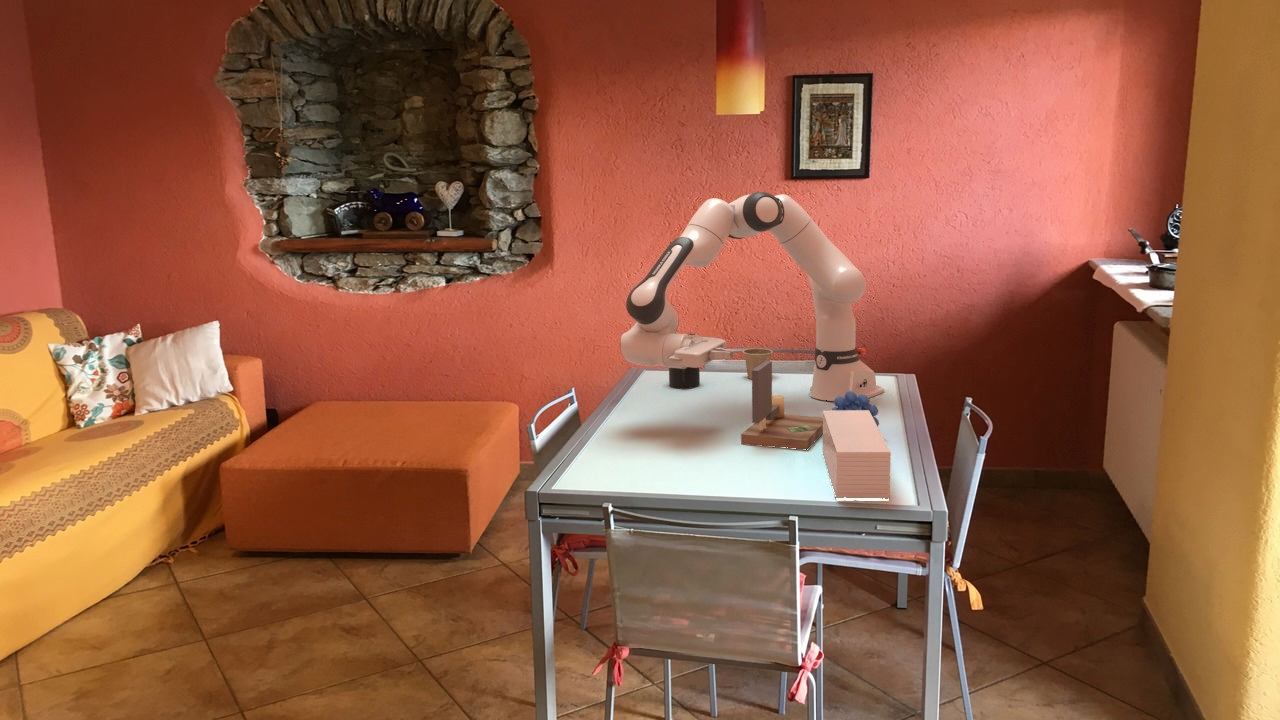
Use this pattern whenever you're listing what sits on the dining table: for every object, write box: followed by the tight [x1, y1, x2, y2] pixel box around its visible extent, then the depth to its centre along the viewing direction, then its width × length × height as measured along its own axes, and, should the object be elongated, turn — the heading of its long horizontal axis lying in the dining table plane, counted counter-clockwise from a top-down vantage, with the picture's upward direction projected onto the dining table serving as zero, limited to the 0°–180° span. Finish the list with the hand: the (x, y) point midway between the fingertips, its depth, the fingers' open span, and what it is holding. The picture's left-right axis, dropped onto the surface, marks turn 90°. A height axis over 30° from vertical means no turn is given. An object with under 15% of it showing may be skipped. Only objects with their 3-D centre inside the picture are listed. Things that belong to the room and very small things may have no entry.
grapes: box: [831, 391, 880, 428], centre depth 237 cm, size 12×7×12 cm, turn 83°
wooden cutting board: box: [740, 413, 823, 451], centre depth 243 cm, size 21×16×3 cm
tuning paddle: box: [751, 360, 785, 430], centre depth 241 cm, size 21×3×16 cm, turn 155°
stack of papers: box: [821, 409, 892, 499], centre depth 211 cm, size 32×11×11 cm, turn 174°
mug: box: [668, 367, 701, 390], centre depth 296 cm, size 9×12×9 cm
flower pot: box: [742, 347, 773, 380], centre depth 304 cm, size 9×9×9 cm
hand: (731, 354), depth 240 cm, fingers closed
